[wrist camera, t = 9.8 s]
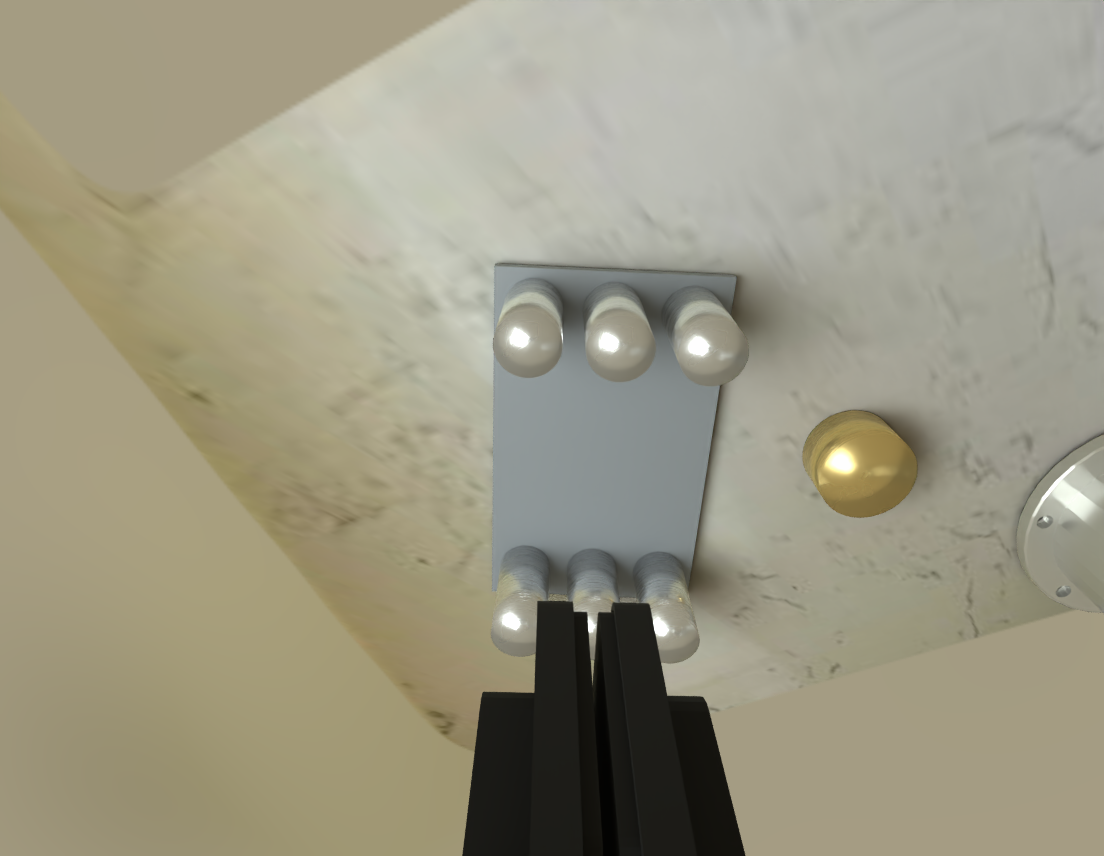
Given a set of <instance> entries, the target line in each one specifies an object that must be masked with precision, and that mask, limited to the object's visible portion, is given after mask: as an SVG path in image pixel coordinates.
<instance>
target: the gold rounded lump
mask: <svg viewBox="0 0 1104 856" xmlns="http://www.w3.org/2000/svg"><path fill="white" fill-rule="evenodd" d="M802 457H803V464H804V468H805V470H806V472H807V473H808V475H809V477H810V478H811V480H812V481H813V483H814V484H815V486H816V488H817V489H818V491H819V492H820V494H821V495H822V497H823V499H824V500H825V502H826V503H827V504H828V505H829V506H830V507H831V508H832V509H833V510H835V511H836V512H838V513H840V514H843V515H846V516H850V517H859V518H862V517H871V516H875V515H879V514H881V513H884V512H886V511H888V510H890V509H892V508H893V507H895V506H896V505H898V504H899V503H900V502H901V501H902V500H903V499H904V498H905V497H906V496H907V495H908V494H909V492H910V491H911V489H912V487H913V485H914V483H915V480H916V477H917V460H916V457H915V455H914V453H913V451H912V450H911V449H910V447H909V446H908V445H907V444H906V443H905V442H904V441H903V440H902V439H901V438H900V437H899V436H898V435H897V434H896V433H895V432H894V431H893V430H892V429H891V428H890V427H889V426H888V425H887V424H886V423H885V422H884V421H883V420H882V419H881V418H880V417H878V416H876V415H874V414H872V413H869V412H865V411H857V410H854V411H845V412H841V413H838V414H835V415H833V416H830V417H829V418H827V419H825V420H824V421H822V422H821V423H820V424H819V425H817V426H816V427H815V428H814V430H813V431H812V432H811V433H810V435H809V436H808V438H807V440H806V442H805V445H804V449H803V456H802Z"/></svg>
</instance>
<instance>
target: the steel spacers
mask: <svg viewBox="0 0 1104 856" xmlns="http://www.w3.org/2000/svg"><path fill="white" fill-rule="evenodd" d="M583 322H584V335H585V348H586V357H587V360H588V363H589V365H590V367H591V368H592V369H593V371H594V372H595V373H596V374H597V375H599V376H600V377H602V378H604V379H606V380H608V381H612V382H627V381H631V380H633V379H636V378H638V377H639V376H641V375H642V374H644V373H645V372H646V371H647V370H648V368H649V367H650V365H651V364H652V362H653V360H654V357H655V352H656V344H655V339H654V336H653V333H652V331H651V328H650V325H649V322H648V320H647V317H646V314H645V311H644V309H643V306H642V303H641V301H640V298H639V296H638V294H637V293H636V292H635V291H634V290H633V289H632V288H631V287H629V286H628V285H626V284H623V283H620V282H607V283H603V284H601V285H599V286H597V287H596V288H594V289H593V290H592V291H591V292H590V293H589V294H588V296H587V298H586V300H585V302H584V306H583ZM662 324H663V327H664V329H665V331H666V334H667V336H668V339H669V341H670V343H671V346H672V348H673V350H674V353H675V355H676V357H677V360H678V362H679V365H680V367H681V369H682V371H683V373H684V374H685V375H686V376H687V377H688V378H689V379H690V380H691V381H693V382H694V383H696V384H699V385H702V386H719V385H723V384H725V383H728V382H729V381H731V380H733V379H734V378H735V377H737V376H738V375H739V374H740V372H741V371H742V370H743V368H744V367H745V365H746V363H747V360H748V356H749V345H748V341H747V338H746V336H745V335H744V333H743V332H742V331H741V329H740V328H739V326H738V325H737V324H736V322H735V321H734V320H733V318H732V317H731V316H730V314H729V313H728V312H727V310H726V309H725V308H724V306H723V305H722V304H721V302H720V301H719V300H718V298H717V297H716V296H715V295H714V294H713V293H712V292H711V291H710V290H708V289H707V288H704V287H701V286H686V287H683V288H680V289H678V290H677V291H675V292H674V293H672V294H671V295H670V296H669V298H668V299H667V300H666V302H665V304H664V306H663V309H662ZM562 348H563V301H562V298H561V295H560V293H559V292H558V290H557V289H556V288H555V287H554V286H553V285H552V284H550V283H549V282H547V281H545V280H542V279H538V278H528V279H524V280H521V281H519V282H518V283H516V284H515V285H513V286H512V288H511V289H510V290H509V291H508V293H507V295H506V298H505V301H504V304H503V307H502V311H501V314H500V317H499V321H498V324H497V327H496V331H495V334H494V338H493V350H494V354H495V357H496V359H497V361H498V362H499V364H500V365H501V366H502V367H503V368H504V369H505V370H506V371H508V372H509V373H511V374H513V375H515V376H518V377H522V378H535V377H539V376H542V375H544V374H546V373H548V372H549V371H550V370H552V369H553V368H554V367H555V365H556V364H557V363H558V361H559V359H560V357H561V354H562ZM633 579H634V587H635V594H636V601H637V603H649V605H650V608H651V612H652V618H653V623H654V628H655V634H656V639H657V644H658V650H659V655H660V660H661V663H678V662H681V661H684V660H686V659H688V658H689V657H691V656H692V655H693V654H694V653H695V652H696V650H697V649H698V646H699V642H700V639H699V634H698V630H697V626H696V622H695V617H694V613H693V609H692V605H691V601H690V597H689V593H688V589H687V585H686V581H685V577H684V573H683V569H682V565H681V563H680V561H679V560H678V559H677V558H676V557H675V556H673V555H672V554H669V553H666V552H651V553H648V554H646V555H644V556H642V557H641V558H640V559H639V560H638V561H637V562H636V563H635V565H634V568H633ZM549 587H550V562H549V559H548V557H547V556H546V554H545V553H544V552H543V551H541V550H540V549H538V548H536V547H533V546H527V545H522V546H516V547H514V548H512V549H510V550H508V551H507V552H506V553H505V554H504V556H503V557H502V560H501V565H500V572H499V579H498V586H497V593H496V600H495V607H494V614H493V621H492V629H491V638H492V641H493V643H494V644H495V646H496V647H497V648H498V649H499V650H501V651H502V652H504V653H506V654H508V655H511V656H518V657H523V656H529V655H532V654H535V653H536V628H537V601H549ZM567 601H572V602H573V607H574V611H575V612H587V614H588V628H589V643H590V658H591V660H594V659H595V645H596V631H597V617H598V612H611V606H612V603H613V602H616V603H620V597H619V588H618V579H617V569H616V563H615V561H614V559H613V558H612V557H611V555H609V554H608V553H607V552H605V551H603V550H600V549H594V548H590V549H584V550H581V551H579V552H577V553H575V554H574V555H573V556H572V557H571V558H570V560H569V561H568V564H567Z"/></svg>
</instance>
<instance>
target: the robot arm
mask: <svg viewBox="0 0 1104 856" xmlns="http://www.w3.org/2000/svg"><path fill="white" fill-rule="evenodd" d="M1016 541H1017V553H1018V557H1019V560H1020V564H1021V566H1022V568H1023V569H1024V571H1025V573H1026V574H1027V576H1028V577H1029V579H1030V580H1031V581H1032V582H1033V583H1034V584H1035V585H1036V586H1037V587H1038V588H1039V589H1040V590H1041V591H1042V592H1043V593H1044V594H1045V595H1047V596H1048V597H1049V598H1051V599H1052V600H1054V601H1055V602H1058V603H1060V604H1062V605H1065V606H1067V607H1069V608H1073V609H1077V610H1082V611H1087V612H1100V613H1101V612H1102V613H1104V435H1102V436H1099V437H1097V438H1095V439H1093V440H1091V441H1090V442H1088V443H1086V444H1085V445H1083V446H1081V447H1080V448H1078V449H1076V450H1074V451H1073V452H1072V453H1071V454H1069V455H1068V456H1067V457H1066V458H1064V459H1063V460H1062V461H1061V462H1059V463H1058V464H1057V465H1056V466H1054V468H1053V469H1052V470H1051V471H1050V472H1049V473H1048V474H1047V475H1046V476H1045V477H1044V478H1043V479H1042V480H1041V481H1040V483H1039V484H1038V485H1037V487H1036V488H1035V490H1034V491H1033V493H1032V494H1031V496H1030V497H1029V499H1028V500H1027V503H1026V505H1025V507H1024V510H1023V512H1022V514H1021V516H1020V520H1019V525H1018V529H1017V534H1016ZM469 797H470V798H469V805H468V813H467V822H466V830H465V839H464V847H463V855H462V856H745V852H744V848H743V844H742V840H741V836H740V832H739V828H738V824H737V820H736V816H735V812H734V809H733V804H732V800H731V796H730V793H729V789H728V784H727V781H726V777H725V772H724V768H723V764H722V761H721V756H720V752H719V748H718V745H717V740H716V737H715V733H714V729H713V725H712V721H711V717H710V713H709V709H708V706H707V703H706V701H705V699H704V698H703V697H700V696H667V692H666V687H665V682H664V676H663V671H662V666H661V660H660V655H659V650H658V644H657V639H656V634H655V628H654V623H653V618H652V612H651V608H650V605H649V603H616V602H613V603H612V606H611V612H598V617H597V631H596V645H595V659H594V673H593V687H592V674H591V658H590V643H589V628H588V614H587V612H575V611H574V607H573V602H572V601H537V628H536V660H535V691H534V693H515V692H483V693H482V697H481V704H480V712H479V721H478V729H477V737H476V746H475V754H474V763H473V771H472V780H471V788H470V796H469Z"/></svg>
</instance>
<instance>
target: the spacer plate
mask: <svg viewBox="0 0 1104 856" xmlns="http://www.w3.org/2000/svg"><path fill="white" fill-rule="evenodd" d="M528 278H538V279H542V280H545V281H547V282H549V283H550V284H552V285H553V286H554V287H555V288H556V289H557V290H558V292H559V293H560V295H561V298H562V301H563V348H562V354H561V357H560V359H559V361H558V363H557V364H556V365H555V367H554V368H553V369H552V370H550V371H549V372H548V373H546V374H544V375H542V376H539V377H535V378H522V377H518V376H515V375H513V374H511V373H509V372H508V371H506V370H505V369H504V368H503V367H502V366H501V365H500V364H499V362H498V361H497V359H496V357H495V354H494V402H493V539H492V591H497V586H498V579H499V572H500V565H501V560H502V557H503V556H504V554H505V553H506V552H507V551H508V550H510V549H512V548H514V547H516V546H522V545H527V546H533V547H536V548H538V549H540V550H541V551H543V552H544V553H545V554H546V556H547V557H548V559H549V562H550V587H549V594H566V595H567V564H568V561H569V560H570V558H571V557H572V556H573V555H574V554H575V553H577V552H579V551H581V550H584V549H590V548H594V549H600V550H603V551H605V552H607V553H608V554H609V555H611V557H612V558H613V559H614V561H615V563H616V569H617V579H618V588H619V597H632V598H636V594H635V587H634V579H633V568H634V565H635V563H636V562H637V561H638V560H639V559H640V558H641V557H642V556H644V555H646V554H648V553H651V552H666V553H669V554H672V555H673V556H675V557H676V558H677V559H678V560H679V561H680V563H681V565H682V569H683V573H684V577H685V581H686V585H687V589H688V587H689V581H690V574H691V568H692V562H693V555H694V549H695V542H696V536H697V529H698V523H699V517H700V510H701V504H702V497H703V491H704V484H705V478H706V472H707V465H708V459H709V452H710V446H711V439H712V433H713V427H714V420H715V414H716V407H717V401H718V394H719V388H720V385H719V386H702V385H699V384H696V383H694V382H693V381H691V380H690V379H689V378H688V377H687V376H686V375H685V374H684V373H683V371H682V369H681V367H680V365H679V362H678V360H677V357H676V355H675V353H674V350H673V348H672V346H671V343H670V341H669V339H668V336H667V334H666V331H665V329H664V327H663V324H662V309H663V306H664V304H665V302H666V300H667V299H668V298H669V296H670V295H671V294H672V293H674V292H675V291H677V290H678V289H680V288H683V287H686V286H701V287H704V288H707V289H708V290H710V291H711V292H712V293H713V294H714V295H715V296H716V297H717V298H718V300H719V301H720V302H721V304H722V305H723V306H724V308H725V309H726V310H727V312H728V313H729V314H730V316H731V311H732V304H733V298H734V292H735V285H736V279H737V277H736V276H735V275H731V274H710V273H688V272H667V271H645V270H624V269H602V268H581V267H559V266H538V265H516V264H495V266H494V334H495V331H496V327H497V324H498V321H499V317H500V314H501V311H502V307H503V304H504V301H505V298H506V295H507V293H508V291H509V290H510V289H511V288H512V286H513V285H515V284H516V283H518V282H519V281H521V280H524V279H528ZM607 282H620V283H623V284H626V285H628V286H629V287H631V288H632V289H633V290H634V291H635V292H636V293H637V294H638V296H639V298H640V301H641V303H642V306H643V309H644V311H645V314H646V317H647V320H648V322H649V325H650V328H651V331H652V333H653V336H654V339H655V344H656V352H655V357H654V360H653V362H652V364H651V365H650V367H649V368H648V370H647V371H646V372H645V373H644V374H642V375H641V376H639V377H638V378H636V379H633V380H631V381H627V382H612V381H608V380H606V379H604V378H602V377H600V376H599V375H597V374H596V373H595V372H594V371H593V369H592V368H591V367H590V365H589V363H588V360H587V357H586V348H585V335H584V322H583V306H584V302H585V300H586V298H587V296H588V294H589V293H590V292H591V291H592V290H593V289H594V288H596V287H597V286H599V285H601V284H603V283H607Z"/></svg>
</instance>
